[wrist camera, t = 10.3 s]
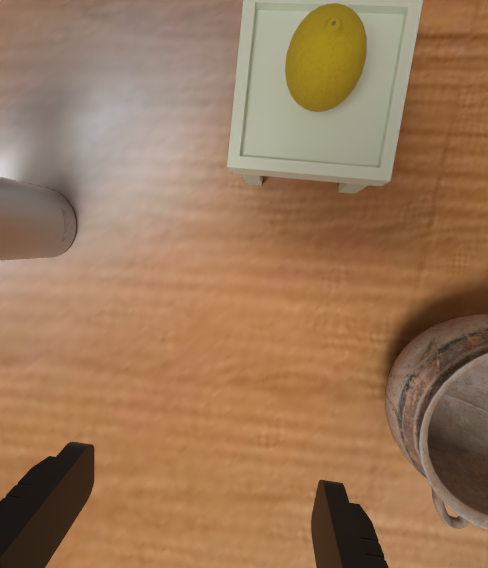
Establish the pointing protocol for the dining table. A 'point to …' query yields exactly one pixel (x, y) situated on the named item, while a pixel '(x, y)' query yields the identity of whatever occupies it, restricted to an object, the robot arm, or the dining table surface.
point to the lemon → (326, 57)
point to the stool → (326, 124)
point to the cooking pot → (445, 414)
